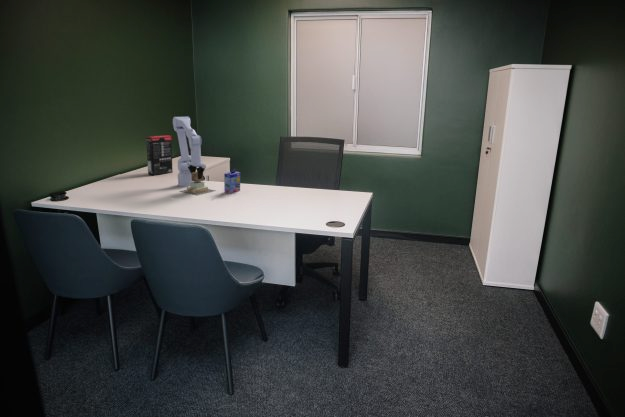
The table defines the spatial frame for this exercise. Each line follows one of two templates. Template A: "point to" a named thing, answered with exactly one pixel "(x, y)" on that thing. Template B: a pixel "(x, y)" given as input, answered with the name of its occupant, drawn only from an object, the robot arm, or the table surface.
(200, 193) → the desk mat
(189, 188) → the oak slab
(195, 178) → the walnut cube
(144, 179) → the table surface
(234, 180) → the ink cartridge box
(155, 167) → the graphics card box
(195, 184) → the sage block
